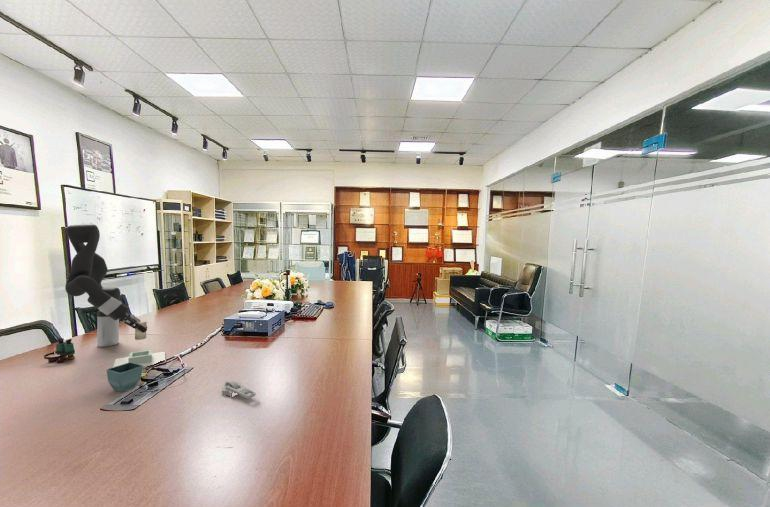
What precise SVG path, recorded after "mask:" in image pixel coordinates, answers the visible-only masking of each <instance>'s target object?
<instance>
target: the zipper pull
mask: <svg viewBox="0 0 770 507" xmlns="http://www.w3.org/2000/svg"><path fill="white" fill-rule="evenodd" d="M233 392H234V393H237V394H239V395H238V396H241V397H244V398H245V399H250V398H253V397H255V396H256V395H257V394H256V392H255V391H253V390H252V389H249V388H248V387H246V386H244V385H242V383H241V382H238V381H237V382H236V381H235V380H228V381H226V382H224V385H222V387H221V396H222V395H229V396H230V397H232V393H233ZM229 396H228V397H229ZM230 397H229V398H230Z"/></svg>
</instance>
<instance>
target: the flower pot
mask: <svg viewBox="0 0 770 507" xmlns="http://www.w3.org/2000/svg"><path fill="white" fill-rule="evenodd" d="M143 370H144V368H143V365H140V364H136V363H132V362H129V363H126V364H123V365H120V366H116V367H113V366H112V367H111V368H107V369H106V376H107V382H108V384H109V385H110V387H111V388H112V389H113V390H114V391H117V392H121V393H123V392H126V391H128V390H130V389H133V388H135V387H136V386H137V385H138V383H139V382H140V380H141V378H142V374H143Z"/></svg>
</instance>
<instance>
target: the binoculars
mask: <svg viewBox="0 0 770 507" xmlns="http://www.w3.org/2000/svg"><path fill="white" fill-rule="evenodd" d="M64 340H65V339H64V338H63V337H62V338H61V337H59V338H57V343H56V344H55V350H52V352H50V353H47V354H44V355H43V359H45V360H48V363H55V362H56V364H60V363H63V362H65V361H67V360H72V359H75V357H76V356H75V353H76V352H75V347H74V342H72V338H69V339H66V340H65V341H64ZM55 355H57V356H55Z"/></svg>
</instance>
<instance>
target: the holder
mask: <svg viewBox="0 0 770 507" xmlns="http://www.w3.org/2000/svg"><path fill="white" fill-rule="evenodd" d="M152 351H153V349H147V350H140V351H133V352H132V351H131V352H129V354H128V356H125V357H120V358H115V361H114V364H113V366H112V368H113V367H116V366H120V365H123V364H126V363H129V362H132V363H136V364H140V365H143V369H146V367H147V366H150V365H154V364H156V363H158V362H160V361H163V360H165V361H166V352H165V351H159V352H154V353H153V352H152ZM147 368H148V367H147Z"/></svg>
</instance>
